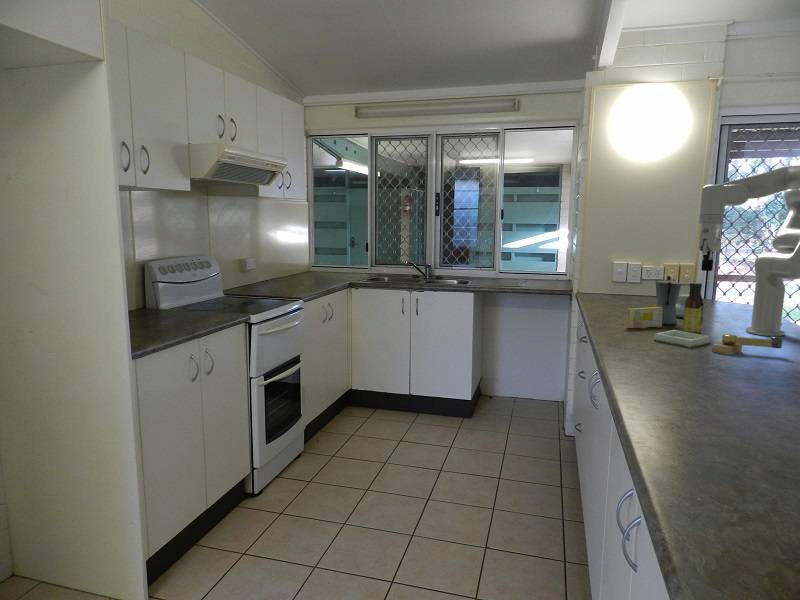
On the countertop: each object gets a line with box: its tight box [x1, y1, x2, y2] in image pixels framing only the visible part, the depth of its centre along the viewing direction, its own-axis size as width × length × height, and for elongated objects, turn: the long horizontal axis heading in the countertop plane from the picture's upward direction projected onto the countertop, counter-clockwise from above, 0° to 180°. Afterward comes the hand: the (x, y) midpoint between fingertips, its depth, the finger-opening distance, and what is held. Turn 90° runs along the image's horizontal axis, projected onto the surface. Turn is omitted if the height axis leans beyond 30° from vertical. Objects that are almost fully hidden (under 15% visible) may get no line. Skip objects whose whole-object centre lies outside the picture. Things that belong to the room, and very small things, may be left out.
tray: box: [653, 329, 711, 348], centre depth 193 cm, size 13×13×2 cm
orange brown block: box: [711, 341, 743, 356], centre depth 179 cm, size 8×6×3 cm
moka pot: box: [655, 275, 682, 325], centre depth 226 cm, size 10×15×20 cm, turn 161°
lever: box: [721, 333, 784, 349], centre depth 177 cm, size 17×4×3 cm, turn 66°
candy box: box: [626, 306, 663, 329], centre depth 218 cm, size 16×2×8 cm, turn 108°
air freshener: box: [676, 294, 690, 319], centre depth 243 cm, size 11×8×10 cm
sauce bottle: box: [682, 282, 705, 335], centre depth 204 cm, size 7×6×20 cm
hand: (706, 270), depth 197 cm, fingers closed
